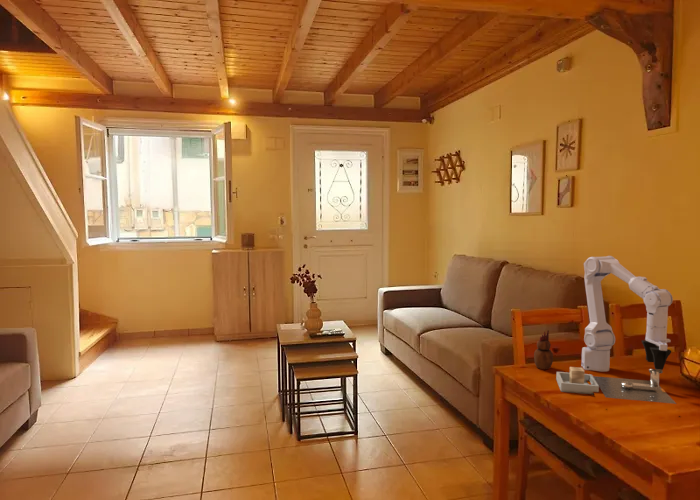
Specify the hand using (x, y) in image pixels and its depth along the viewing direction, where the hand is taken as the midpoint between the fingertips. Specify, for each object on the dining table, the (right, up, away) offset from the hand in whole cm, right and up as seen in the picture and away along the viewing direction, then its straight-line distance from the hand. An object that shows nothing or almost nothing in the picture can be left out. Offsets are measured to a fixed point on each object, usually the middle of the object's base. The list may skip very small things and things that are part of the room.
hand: (654, 365), depth 158 cm
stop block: (-23, -9, +6) cm, 26 cm away
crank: (-4, -8, +2) cm, 9 cm away
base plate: (-7, -9, +2) cm, 12 cm away
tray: (-23, -9, +7) cm, 26 cm away
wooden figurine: (-27, -8, +26) cm, 38 cm away
